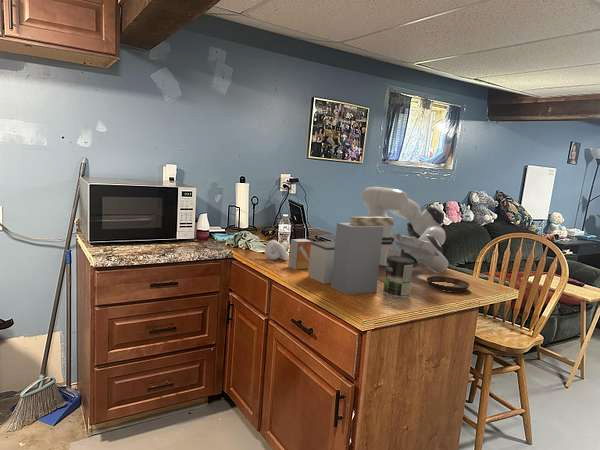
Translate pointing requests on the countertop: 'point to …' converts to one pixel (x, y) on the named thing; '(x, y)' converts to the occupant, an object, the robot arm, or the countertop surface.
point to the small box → (299, 253)
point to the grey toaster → (321, 261)
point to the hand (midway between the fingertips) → (404, 236)
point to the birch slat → (371, 221)
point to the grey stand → (356, 258)
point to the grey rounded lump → (276, 250)
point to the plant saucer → (458, 284)
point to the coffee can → (398, 276)
